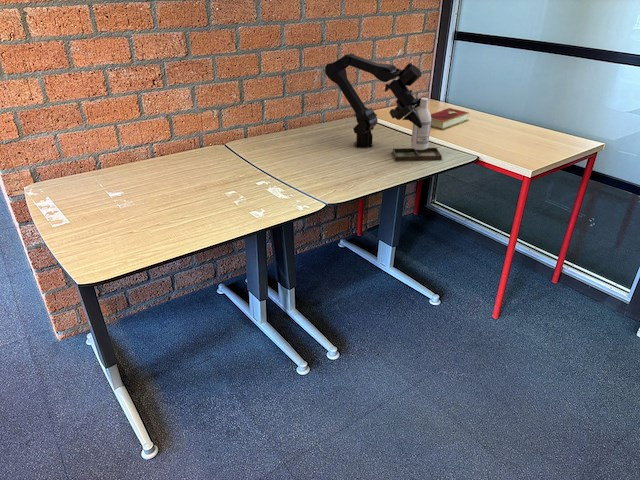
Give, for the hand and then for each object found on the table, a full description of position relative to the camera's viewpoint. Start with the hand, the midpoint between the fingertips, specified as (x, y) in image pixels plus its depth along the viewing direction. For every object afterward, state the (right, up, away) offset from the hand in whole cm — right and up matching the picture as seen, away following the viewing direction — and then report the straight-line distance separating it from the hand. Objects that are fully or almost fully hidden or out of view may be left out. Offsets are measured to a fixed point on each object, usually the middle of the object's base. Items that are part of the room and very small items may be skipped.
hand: (424, 125), depth 194 cm
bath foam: (-1, -8, +6) cm, 10 cm away
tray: (-2, -11, +8) cm, 14 cm away
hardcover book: (+20, +12, +46) cm, 51 cm away
